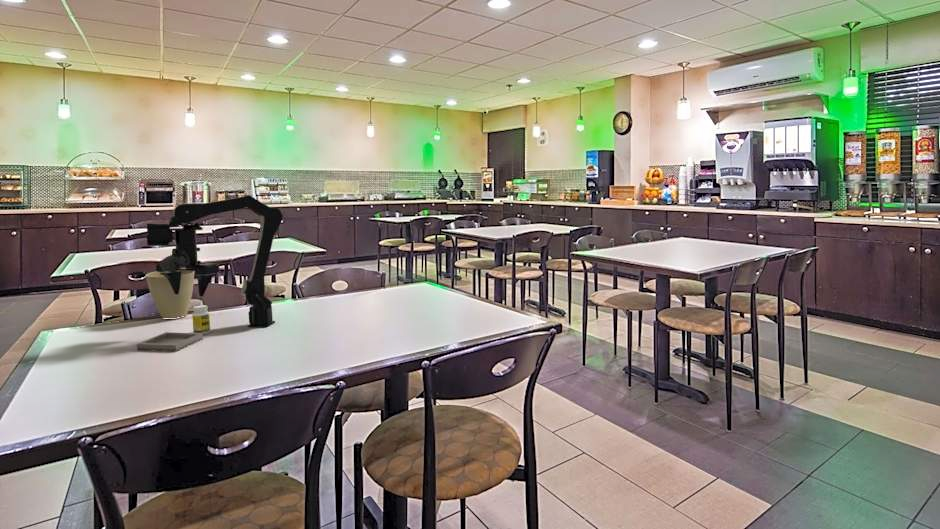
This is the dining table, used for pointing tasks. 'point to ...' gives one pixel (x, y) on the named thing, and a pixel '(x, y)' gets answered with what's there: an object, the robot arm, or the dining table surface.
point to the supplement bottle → (201, 319)
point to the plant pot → (171, 294)
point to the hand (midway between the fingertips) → (189, 295)
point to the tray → (170, 341)
